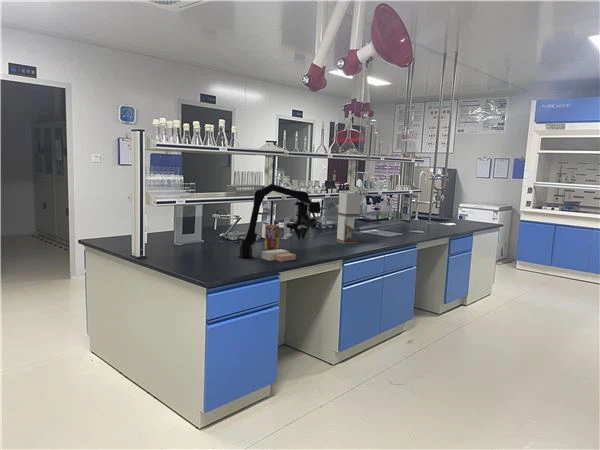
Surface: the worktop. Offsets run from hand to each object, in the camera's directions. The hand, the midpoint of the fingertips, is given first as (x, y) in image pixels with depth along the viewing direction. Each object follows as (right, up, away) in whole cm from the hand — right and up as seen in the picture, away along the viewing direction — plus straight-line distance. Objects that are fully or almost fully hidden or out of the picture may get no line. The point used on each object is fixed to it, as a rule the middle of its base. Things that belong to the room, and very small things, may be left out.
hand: (301, 239), depth 259 cm
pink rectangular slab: (-9, -12, -6) cm, 16 cm away
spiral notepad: (-15, -11, -2) cm, 18 cm away
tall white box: (+34, -4, +62) cm, 71 cm away
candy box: (-19, -7, +26) cm, 33 cm away
